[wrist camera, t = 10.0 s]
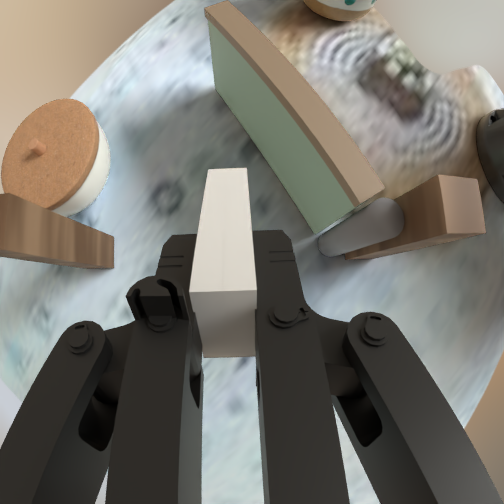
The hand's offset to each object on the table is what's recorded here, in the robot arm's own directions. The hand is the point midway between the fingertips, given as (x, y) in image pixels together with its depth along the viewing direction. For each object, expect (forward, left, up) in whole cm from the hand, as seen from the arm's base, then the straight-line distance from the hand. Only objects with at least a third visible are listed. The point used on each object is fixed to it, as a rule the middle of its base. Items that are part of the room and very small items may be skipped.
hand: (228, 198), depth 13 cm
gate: (-4, -8, -16) cm, 18 cm away
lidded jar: (+16, -8, -16) cm, 24 cm away
